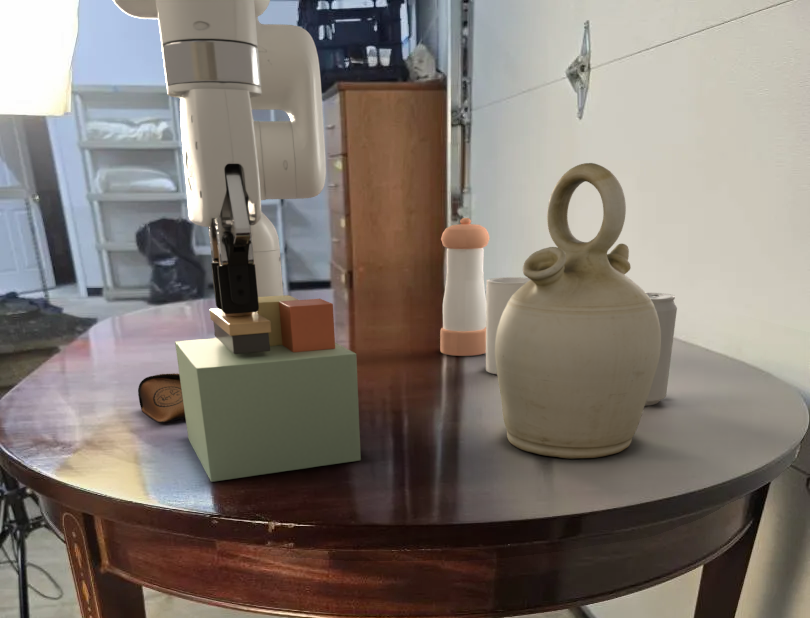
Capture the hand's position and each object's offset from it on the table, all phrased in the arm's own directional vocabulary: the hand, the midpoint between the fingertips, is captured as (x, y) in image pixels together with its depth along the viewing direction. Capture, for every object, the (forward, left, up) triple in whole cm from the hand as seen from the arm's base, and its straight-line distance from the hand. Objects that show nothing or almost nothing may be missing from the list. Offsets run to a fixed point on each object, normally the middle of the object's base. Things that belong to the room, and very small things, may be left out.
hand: (237, 308), depth 70 cm
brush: (0, 0, -3) cm, 3 cm away
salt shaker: (-36, +41, -14) cm, 56 cm away
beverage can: (0, +46, -14) cm, 48 cm away
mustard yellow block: (-2, +4, -4) cm, 6 cm away
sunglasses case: (-19, +1, -14) cm, 24 cm away
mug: (-21, +42, -14) cm, 49 cm away
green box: (0, +2, -14) cm, 14 cm away
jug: (+10, +30, -14) cm, 34 cm away
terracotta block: (+2, +6, -4) cm, 7 cm away
